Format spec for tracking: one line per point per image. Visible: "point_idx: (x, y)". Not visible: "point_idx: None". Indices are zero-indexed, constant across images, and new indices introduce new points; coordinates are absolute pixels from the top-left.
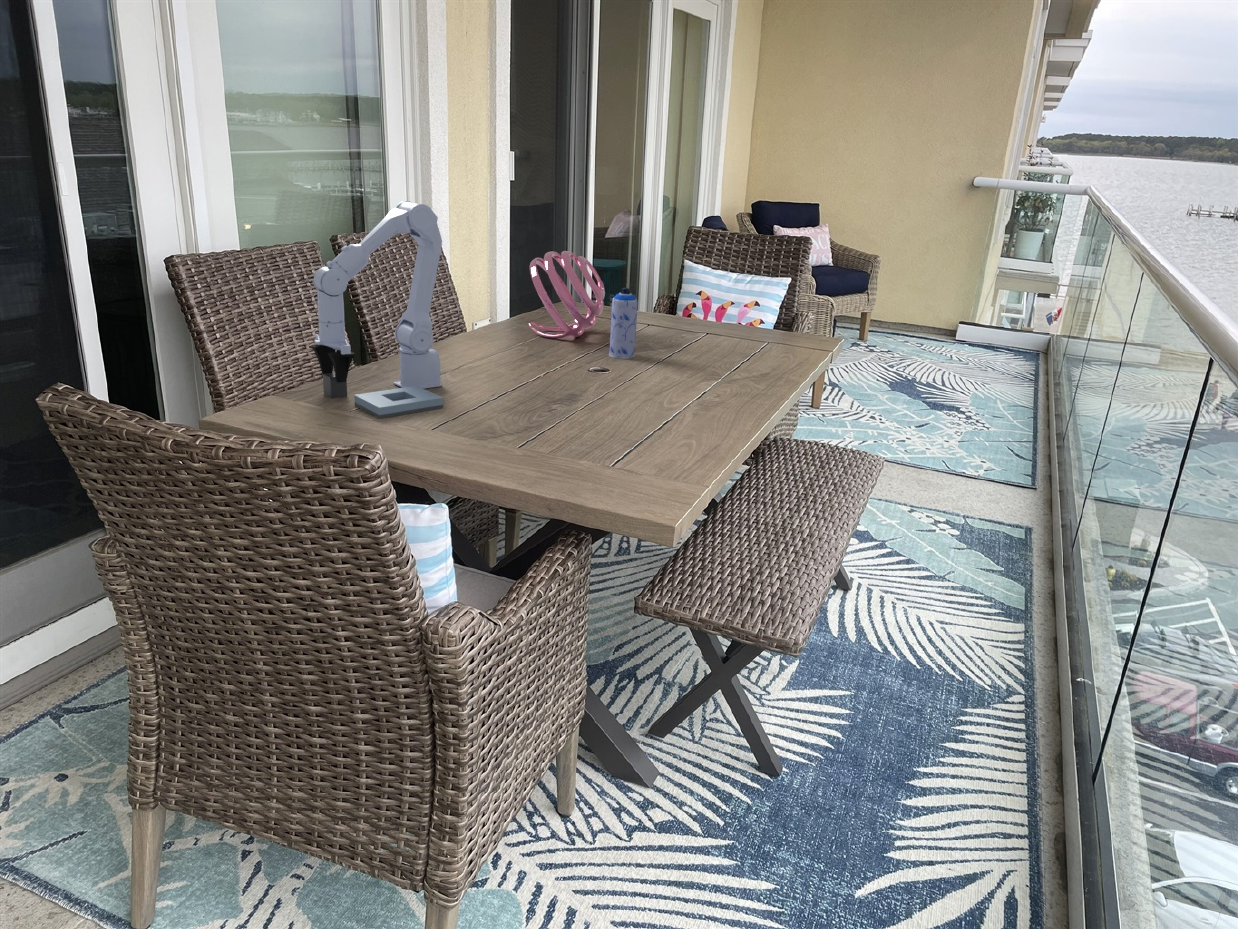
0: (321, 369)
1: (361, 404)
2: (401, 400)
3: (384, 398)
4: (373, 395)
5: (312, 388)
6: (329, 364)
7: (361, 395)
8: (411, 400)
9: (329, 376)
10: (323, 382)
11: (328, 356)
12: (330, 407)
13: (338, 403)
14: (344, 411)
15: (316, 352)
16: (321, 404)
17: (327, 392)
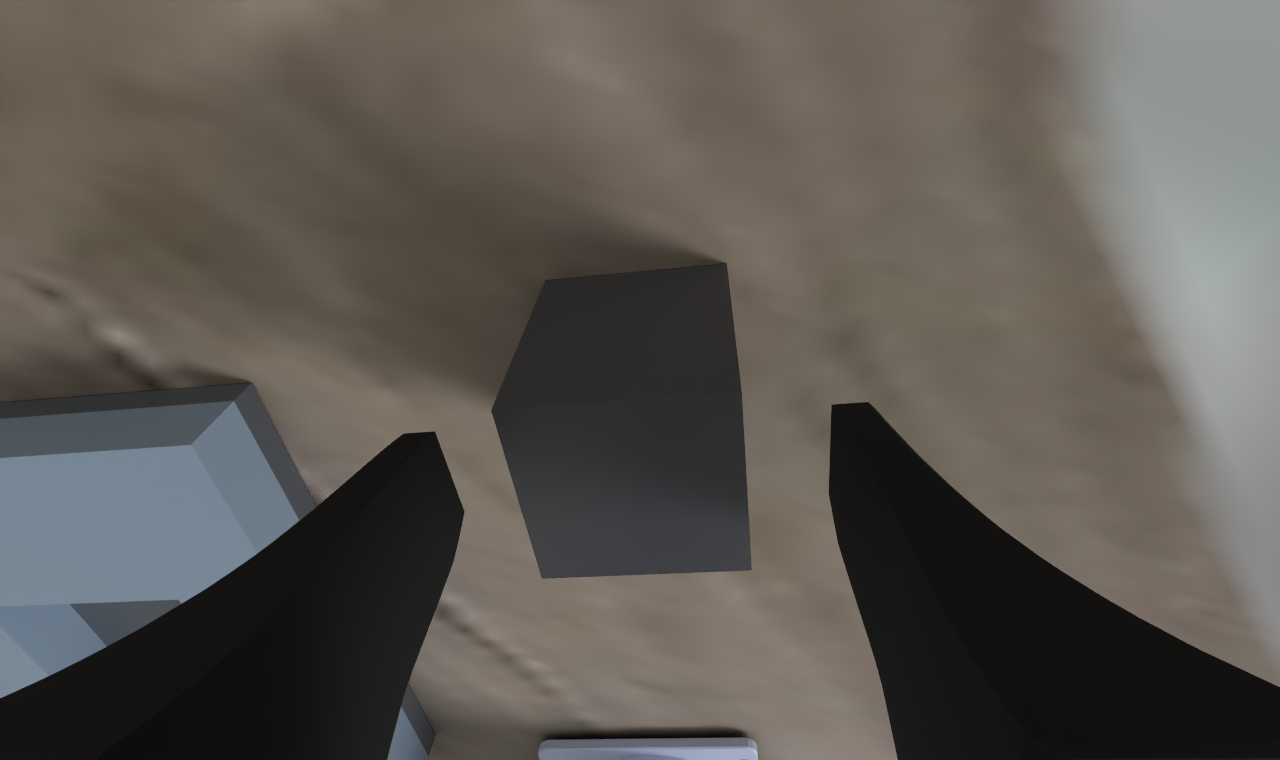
0: (878, 438)
1: (96, 416)
2: (11, 648)
3: (61, 587)
4: (161, 557)
5: (1026, 227)
6: (863, 582)
7: (160, 485)
8: (16, 688)
9: (570, 424)
10: (728, 329)
11: (908, 699)
12: (199, 166)
13: (341, 282)
14: (48, 244)
15: (1011, 646)
16: (330, 112)
17: (628, 291)
